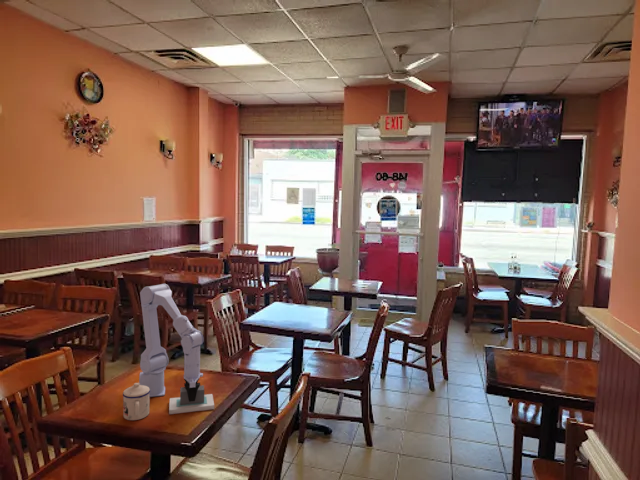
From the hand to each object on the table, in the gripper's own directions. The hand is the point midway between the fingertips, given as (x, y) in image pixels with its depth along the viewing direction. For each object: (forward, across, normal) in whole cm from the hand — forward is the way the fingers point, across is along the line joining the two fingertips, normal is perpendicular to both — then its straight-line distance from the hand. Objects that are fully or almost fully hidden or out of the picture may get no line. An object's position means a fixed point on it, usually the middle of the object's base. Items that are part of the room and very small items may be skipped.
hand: (191, 398), depth 162 cm
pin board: (+3, 0, 0) cm, 3 cm away
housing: (+1, 0, 0) cm, 1 cm away
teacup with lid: (+3, -4, +19) cm, 20 cm away
